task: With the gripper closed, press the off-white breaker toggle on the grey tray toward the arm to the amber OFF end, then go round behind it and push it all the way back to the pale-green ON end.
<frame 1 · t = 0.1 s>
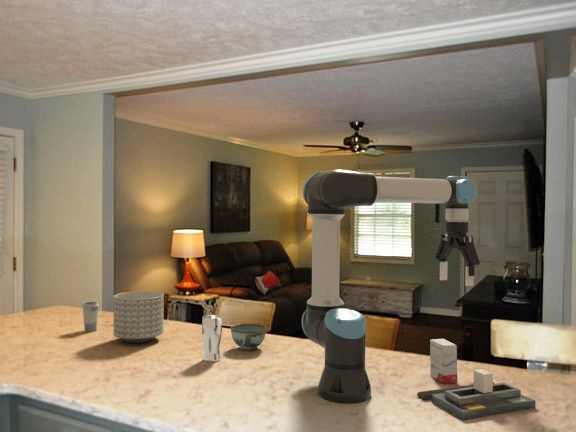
hand: (455, 282, 177), 28 cm above the kitchen counter, fingers open, 13 cm apart
ink box: (443, 380, 162), on the kitchen counter
dark grey flat bar: (459, 392, 150), on the kitchen counter
grey tray: (482, 404, 141), on the kitchen counter
cup: (90, 331, 219), on the kitchen counter
bowl: (248, 349, 194), on the kitchen counter
beer glass: (211, 359, 180), on the kitchen counter
planter: (138, 341, 204), on the kitchen counter
toggle: (483, 384, 141), point 6 cm above the kitchen counter, slide at 0.0 cm
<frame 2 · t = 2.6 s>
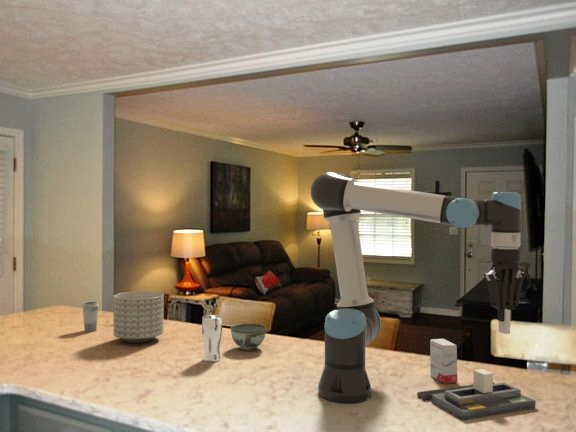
hand: (504, 332, 143), 19 cm above the kitchen counter, fingers closed
nothing on the kitchen counter moved.
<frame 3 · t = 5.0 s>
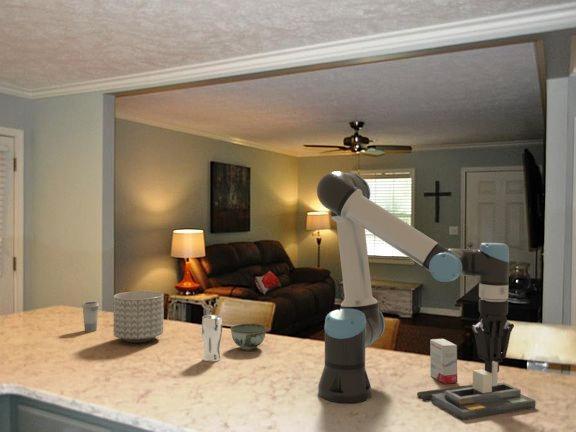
hand: (491, 384, 142), 5 cm above the kitchen counter, fingers closed
toggle: (482, 384, 141), point 6 cm above the kitchen counter, slide at -0.3 cm, touching gripper
everything else where it was.
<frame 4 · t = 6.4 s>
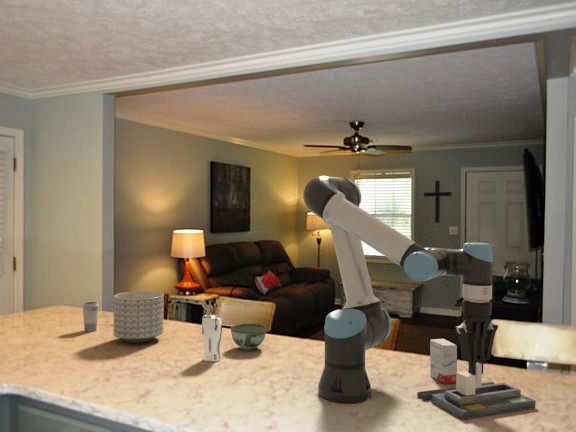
hand: (475, 386, 140), 5 cm above the kitchen counter, fingers closed
toggle: (465, 386, 139), point 6 cm above the kitchen counter, slide at -5.8 cm, touching gripper
everything else where it was.
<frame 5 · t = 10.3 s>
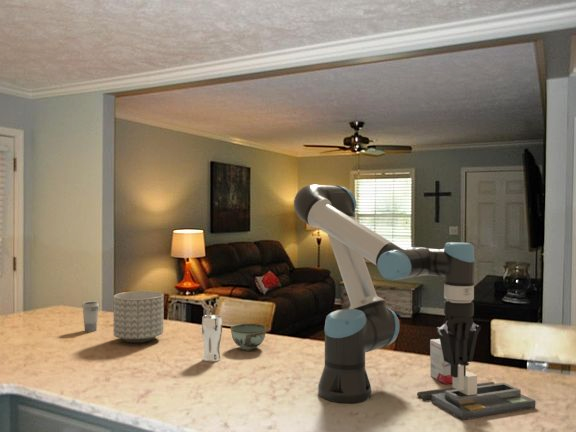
hand: (457, 388, 138), 6 cm above the kitchen counter, fingers closed
toggle: (467, 386, 139), point 6 cm above the kitchen counter, slide at -5.3 cm, touching gripper
everything else where it was.
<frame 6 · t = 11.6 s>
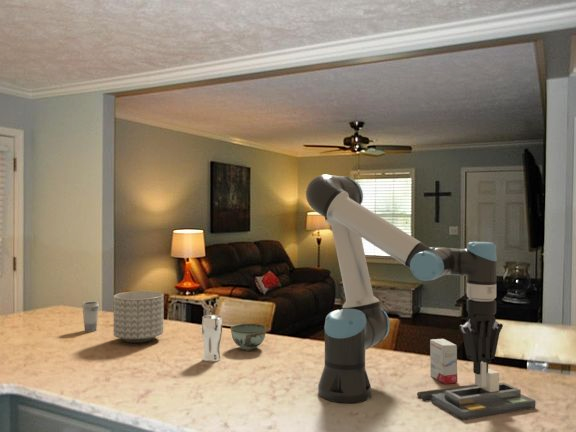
hand: (480, 385, 140), 6 cm above the kitchen counter, fingers closed
toggle: (489, 383, 141), point 6 cm above the kitchen counter, slide at 2.2 cm, touching gripper
everything else where it was.
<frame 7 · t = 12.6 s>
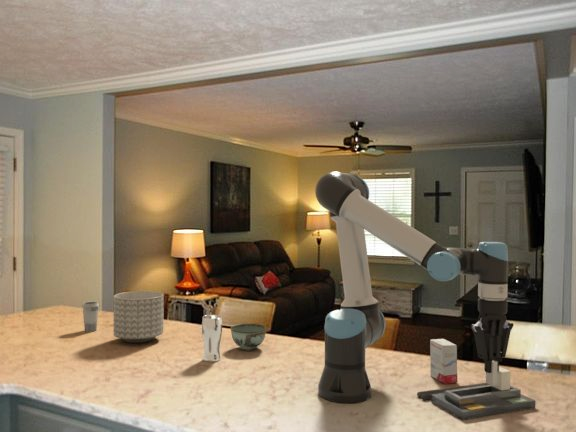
hand: (491, 383, 142), 6 cm above the kitchen counter, fingers closed
toggle: (500, 381, 143), point 6 cm above the kitchen counter, slide at 6.0 cm, touching gripper
everything else where it was.
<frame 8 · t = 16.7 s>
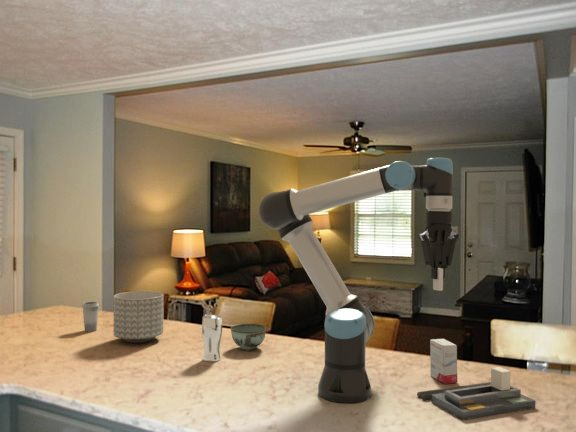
hand: (437, 289, 153), 29 cm above the kitchen counter, fingers closed
toggle: (500, 381, 143), point 6 cm above the kitchen counter, slide at 6.0 cm
everything else where it was.
at the end: toggle slide at 6.0 cm; toggle touching nothing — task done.
